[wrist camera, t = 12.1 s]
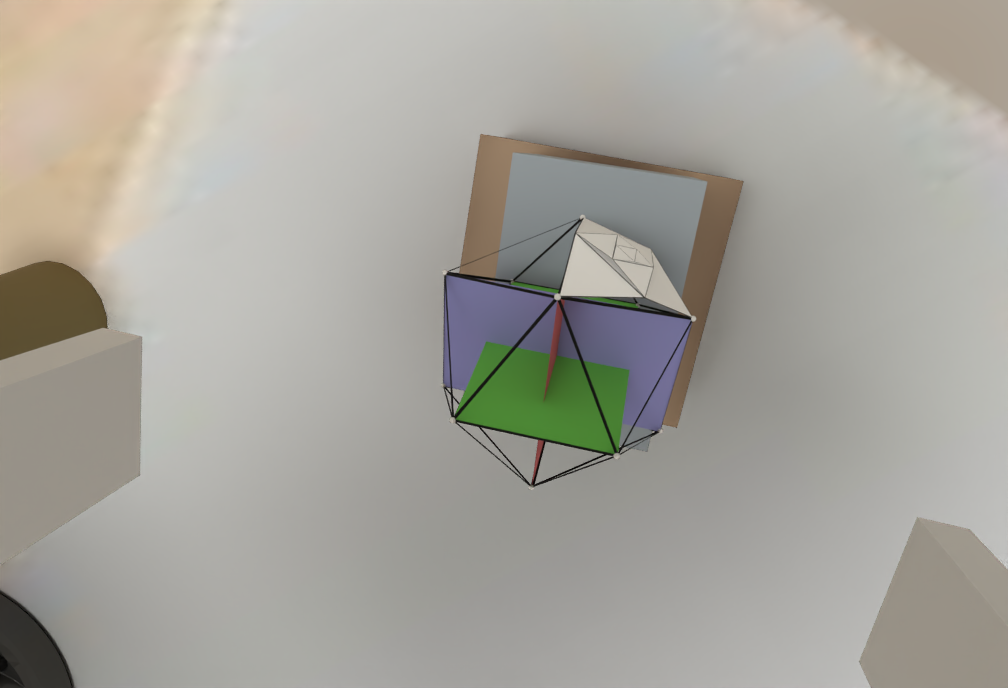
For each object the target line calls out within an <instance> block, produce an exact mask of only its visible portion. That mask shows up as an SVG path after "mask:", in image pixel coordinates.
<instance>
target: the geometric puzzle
mask: <svg viewBox="0 0 1008 688" xmlns="http://www.w3.org/2000/svg"><path fill="white" fill-rule="evenodd" d="M577 220H578V219H577ZM574 221H576V220H574ZM580 221H581V222H580ZM572 222H573V221H572ZM579 222H580V224H579V226H578V227H577V229H576V231H575V234H574V238H573V241H572V245H571V249H570V253H569V257H568V261H567V264H566V268H565V272H564V276H563V279H562V282H561V285H560V288H559V289H556V288H550V287H545V286H539V285H534V284H529V283H523V282H518V281H515V280H516V279H517V278H518V277H519V276H521V275H522V274H523V273H524V272H525V271H526V270H527V269H528V268H529V267H531V266H532V265H533V264H534V263H535V262H536V261H537V260H538V259H539V258H541V257H542V256H543V255H544V254H545V253H546V252H547V251H548V250H549V249H551V248H552V247H553V246H554V245H555V244H556V243H557V242H558V241H559V240H561V239H562V238H563V237H564V236H565V235H566V234H567V233H568V232H569V231H570V230H572V229H573V228H574V227H575V226H576V225H577V224H578V223H579ZM569 223H571V222H569ZM567 224H568V223H567ZM564 225H566V224H564ZM562 226H563V225H562ZM559 227H561V226H559ZM557 228H558V227H557ZM554 229H556V228H554ZM552 230H553V229H552ZM549 231H551V230H549ZM547 232H548V231H547ZM544 233H546V232H544ZM542 234H543V233H542ZM539 235H541V234H539ZM537 236H538V235H537ZM534 237H536V236H534ZM532 238H533V237H532ZM529 239H531V238H529ZM527 240H528V239H527ZM524 241H526V240H524ZM522 242H523V241H522ZM519 243H521V242H519ZM517 244H518V243H517ZM514 245H516V244H514ZM514 245H512V246H514ZM509 247H511V246H509ZM509 247H507V248H509ZM504 249H506V248H504ZM504 249H502V250H504ZM499 251H501V250H499ZM499 251H497V252H499ZM494 253H496V252H494ZM494 253H492V254H494ZM490 255H491V254H490ZM487 256H489V255H487ZM485 257H486V256H485ZM482 258H484V257H482ZM480 259H481V258H480ZM477 260H479V259H477ZM475 261H476V260H475ZM472 262H474V261H472ZM470 263H471V262H470ZM467 264H469V263H467ZM465 265H466V264H465ZM462 266H464V265H462ZM460 267H461V266H460ZM457 268H459V267H457ZM455 269H456V268H455ZM452 270H454V269H452ZM450 271H451V270H450ZM442 274H443V275H444V355H443V383H441V387H443V388H444V391H445V389H446V390H447V391H448V389H447V388H446V387H448V388H451V393H450V392H449V391H448V393H449V394H450V395H451V404H452V412H451V409H450V405H449V402H448V398H447V395H446V391H445V395H446V398H447V402H448V406H449V409H450V413H451V418H450V419H449V421H450V423H456V424H457V425H459V424H458V423H457V422H459V423H463V424H468V425H473V426H477V427H479V428H480V429H481V430H482V428H486V429H491V430H496V431H500V432H505V433H509V434H514V435H519V436H523V437H528V438H532V439H537V440H538V445H537V452H536V460H535V467H534V474H533V479H532V482H531V485H530V483H529V482H528V481H527V480H526V479H525V478H524V477H523V475H522V474H521V473H520V472H519V471H518V470H517V469H516V467H515V466H514V465H513V464H512V463H511V462H510V461H509V459H508V458H507V457H506V456H505V455H504V454H503V452H502V451H501V450H500V449H499V448H498V447H497V446H496V444H495V443H494V442H493V441H492V440H491V439H490V438H489V436H488V435H487V434H486V433H485V432H484V431H483V430H482V432H483V433H484V434H485V435H486V436H487V437H488V438H489V440H490V441H491V442H492V443H493V444H494V445H495V446H496V448H497V449H498V450H499V451H500V452H501V453H502V454H503V456H504V457H505V458H506V459H507V460H508V461H509V463H510V464H511V465H512V466H513V467H514V468H515V469H516V471H517V472H518V473H519V474H520V475H521V476H522V477H523V479H522V478H521V477H520V476H519V475H518V474H517V473H515V472H514V471H513V470H512V469H511V468H509V467H508V466H507V465H506V464H505V463H504V462H502V461H501V460H500V459H499V458H498V457H497V456H495V455H494V454H493V453H492V452H491V451H490V450H488V449H487V448H486V447H485V446H484V445H482V444H481V443H480V442H479V441H478V440H477V439H475V438H474V437H473V436H472V435H471V434H470V433H468V432H467V431H466V430H465V429H464V428H463V427H461V426H460V425H459V426H460V427H461V428H462V429H463V430H464V431H466V432H467V433H468V434H469V435H470V436H472V437H473V438H474V439H475V440H476V441H477V442H479V443H480V444H481V445H482V446H483V447H484V448H486V449H487V450H488V451H489V452H490V453H492V454H493V455H494V456H495V457H496V458H497V459H499V460H500V461H501V462H502V463H503V464H505V465H506V466H507V467H508V468H509V469H510V470H512V471H513V472H514V473H515V474H516V475H517V476H519V477H520V478H521V479H522V480H523V481H525V482H526V483H527V484H528V485H529V489H530V490H533V489H534V487H535V486H537V485H540V484H543V483H546V482H548V481H551V480H554V479H557V478H559V477H562V476H565V475H567V474H570V473H573V472H576V471H578V470H581V469H584V468H587V467H589V466H592V465H595V464H598V463H600V462H603V461H606V460H609V459H611V458H615V459H619V458H620V455H621V454H622V453H624V452H626V451H628V450H629V449H631V448H633V447H634V446H633V447H631V448H629V449H628V450H626V451H624V452H622V453H621V454H620V452H621V450H622V448H624V447H626V446H629V445H631V444H633V443H635V442H638V441H640V440H642V439H645V438H647V437H648V438H650V437H652V436H654V435H655V434H657V433H662V432H663V429H662V428H661V427H662V424H663V420H664V417H665V413H666V410H667V407H668V403H669V400H670V397H671V393H672V390H673V386H674V383H675V380H676V376H677V373H678V370H679V366H680V363H681V359H682V356H683V353H684V349H685V346H686V343H687V339H688V336H689V333H690V329H691V326H692V322H694V321H696V317H695V316H692V315H691V314H690V312H689V310H688V309H687V307H686V305H685V304H684V302H683V300H682V299H681V297H680V295H679V294H678V292H677V290H676V289H675V287H674V286H673V284H672V282H671V281H670V279H669V277H668V276H667V274H666V272H665V271H664V269H663V267H662V266H661V264H660V262H659V261H658V259H657V257H656V256H655V254H654V252H653V251H652V249H650V248H648V247H646V246H644V245H642V244H640V243H638V242H635V241H633V240H631V239H629V238H627V237H625V236H623V235H621V234H618V233H616V232H614V231H612V230H610V229H608V228H606V227H604V226H602V225H599V224H597V223H595V222H593V221H591V220H589V219H587V218H586V217H585V215H581V216H580V218H579V220H578V221H577V222H576V223H575V224H574V225H573V226H571V227H570V228H569V229H568V230H567V231H566V232H565V233H564V234H563V235H561V236H560V237H559V238H558V239H557V240H556V241H555V242H554V243H553V244H552V245H550V246H549V247H548V248H547V249H546V250H545V251H544V252H543V253H542V254H541V255H539V256H538V257H537V258H536V259H535V260H534V261H533V262H532V263H531V264H530V265H528V266H527V267H526V268H525V269H524V270H523V271H522V272H521V273H520V274H519V275H517V276H516V277H515V278H514V279H511V280H505V279H498V278H490V277H483V276H475V275H467V274H460V273H452V272H449V271H447V270H443V272H442ZM482 279H484V280H482ZM487 280H492V281H500V282H508V283H510V284H503V283H498V282H492V281H487ZM610 298H633V299H634V301H635V302H636V303H632V302H626V301H621V300H616V299H610ZM635 298H643V299H647V300H650V301H652V302H655V303H657V304H659V305H662V306H664V307H667V308H669V309H671V310H674V311H676V312H679V313H681V314H683V315H681V314H677V313H673V312H669V311H665V310H661V309H657V308H653V307H649V306H645V305H641V304H640V303H638V302H637V301H636V299H635ZM640 306H641V307H645V308H649V309H653V310H657V311H652V310H646V309H640V308H639V307H640ZM658 311H660V312H658ZM685 315H686V316H685ZM452 388H455V389H459V390H464V391H465V392H464V395H463V397H462V399H461V402H460V403H459V402H458V401H457V400H456V399H455V398H454V396H453V392H452ZM453 398H454V399H455V401H456V402H457V403H458V404H459V406H458V409H457V411H456V413H455V415H454V410H453ZM622 424H626V425H630V426H632V428H631V430H630V432H629V434H628V435H627V437H626V439H625V441H624V443H623V444H622V446H621V447H620V448H619V443H620V435H621V428H622ZM634 426H635V427H640V428H645V429H649V430H652V431H654V433H652V434H650V435H648V436H645V437H643V438H641V439H638V440H636V441H634V442H631V443H629V444H627V445H625V446H624V444H625V443H626V441H627V439H628V437H629V435H630V434H631V432H632V430H633V428H634ZM481 427H482V428H481ZM649 436H650V437H649ZM648 438H647V439H648ZM647 439H645V440H647ZM645 440H643V441H645ZM643 441H642V442H643ZM545 442H551V443H555V444H560V445H564V446H569V447H574V448H578V449H583V450H587V451H592V452H597V453H601V454H604V455H602V456H599V457H597V458H595V459H592V460H590V461H588V462H585V463H583V464H581V465H579V466H576V467H574V468H572V469H569V470H567V471H565V472H562V473H560V474H558V475H555V476H553V477H551V478H549V479H546V480H544V481H542V482H539V483H537V484H535V481H536V477H537V473H538V469H539V465H540V461H541V458H542V454H543V450H544V446H545ZM640 443H641V442H640ZM640 443H638V444H640ZM638 444H636V445H638ZM636 445H635V446H636ZM619 449H620V450H619ZM618 450H619V452H618ZM606 455H610V456H613V457H611V458H608V459H605V460H602V461H600V462H597V463H594V464H591V465H589V466H586V467H583V468H581V469H578V470H575V471H572V472H570V473H567V474H564V473H566V472H569V471H571V470H573V469H576V468H578V467H580V466H583V465H585V464H587V463H589V462H592V461H594V460H596V459H599V458H601V457H603V456H606ZM562 474H564V475H562ZM560 475H561V476H560ZM557 476H559V477H557ZM555 477H556V478H555ZM550 479H551V480H550ZM534 484H535V485H534Z"/></svg>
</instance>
